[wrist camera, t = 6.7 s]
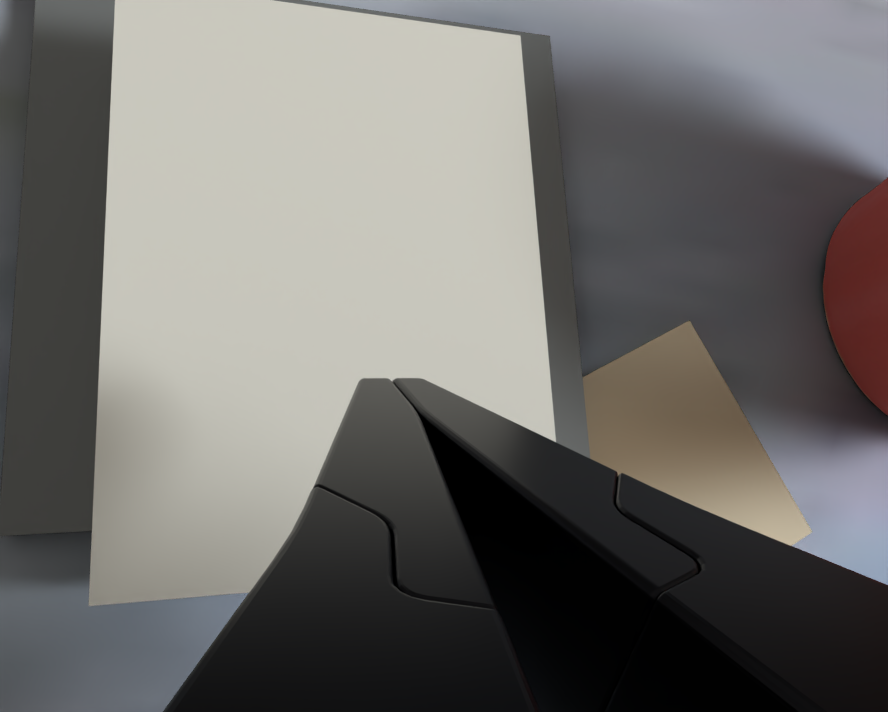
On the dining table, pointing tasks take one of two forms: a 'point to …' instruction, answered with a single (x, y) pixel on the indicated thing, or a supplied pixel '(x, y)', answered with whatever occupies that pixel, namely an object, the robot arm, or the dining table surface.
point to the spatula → (686, 435)
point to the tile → (295, 266)
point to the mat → (82, 258)
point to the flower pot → (861, 293)
